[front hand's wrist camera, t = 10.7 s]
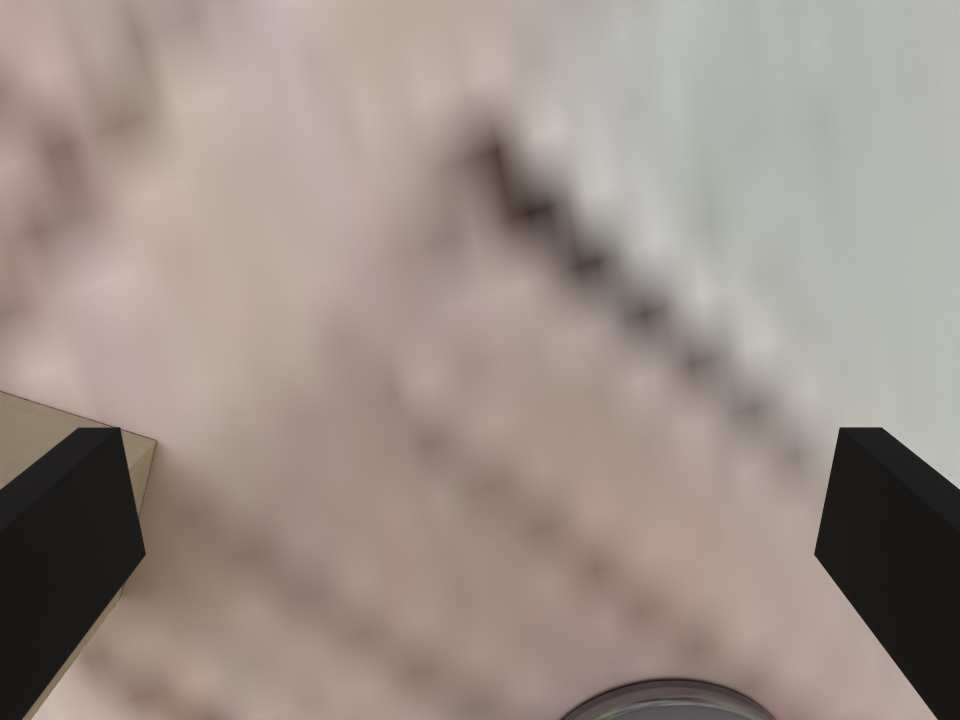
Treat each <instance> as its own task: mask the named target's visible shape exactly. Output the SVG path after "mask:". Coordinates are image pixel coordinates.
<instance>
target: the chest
mask: <svg viewBox="0 0 960 720" xmlns="http://www.w3.org/2000/svg"><path fill="white" fill-rule="evenodd" d="M78 427H110V426H107V425H104V424H101V423H98V422H94V421H91V420H88V419H85V418H82V417H79V416H75V415H72V414H69V413H66V412H63V411H60V410H56V409H53V408H50V407H47V406H44V405H41V404H37V403H34V402H31V401H28V400H25V399H21V398H18V397H15V396H12V395H9V394H6V393H2V392H0V489H2V488H3V487H4V486H5V485H7V484H8V483H9V482H10V481H12V480H13V479H14V478H15V477H17V476H18V475H19V474H20V473H22V472H23V471H24V470H25V469H27V468H28V467H29V466H31V465H32V464H33V463H34V462H36V461H37V460H38V459H39V458H41V457H42V456H43V455H44V454H46V453H47V452H48V451H49V450H51V449H52V448H53V447H54V446H56V445H57V444H58V443H59V442H61V441H62V440H63V439H64V438H66V437H67V436H68V435H69V434H71V433H72V432H73V431H74V430H76V429H77V428H78ZM121 434H122V439H123V444H124V449H125V454H126V459H127V464H128V469H129V473H130V478H131V483H132V488H133V493H134V498H135V503H136V508H137V513H138V518H139V514H140V509H141V505H142V501H143V496H144V492H145V488H146V483H147V479H148V475H149V471H150V466H151V462H152V458H153V453H154V449H155V445H156V441H155V440H151V439H148V438H145V437H142V436H139V435H136V434H132V433H129V432H126V431H123V430H121ZM122 587H123V586H122ZM122 587H121V588H120V590H119V591H118V592H117V594H116V595H115V596H114V598H113V599H112V600H111V602H110V603H109V604H108V606H107V607H106V608H105V610H104V611H103V612H102V614H101V615H100V616H99V618H98V619H97V620H96V622H95V623H94V624H93V626H92V627H91V628H90V630H89V631H88V632H87V634H86V635H85V636H84V638H83V639H82V640H81V642H80V643H79V644H78V646H77V647H76V648H75V650H74V651H73V652H72V654H71V655H70V656H69V658H68V659H67V660H66V662H65V663H64V664H63V666H62V667H61V668H60V670H59V671H58V672H57V674H56V675H55V676H54V678H53V679H52V680H51V682H50V683H49V684H48V686H47V687H46V689H45V690H44V691H43V693H42V694H41V695H40V697H39V698H38V699H37V701H36V702H35V703H34V705H33V706H32V707H31V709H30V710H29V711H28V713H27V714H26V715H25V717H24V718H23V719H22V720H31V719H32V718H33V716H34V715H35V713H36V712H37V711H38V709H39V708H40V707H41V705H42V704H43V703H44V701H45V700H46V699H47V697H48V696H49V694H50V693H51V692H52V690H53V689H54V688H55V686H56V685H57V684H58V682H59V681H60V680H61V678H62V677H63V675H64V674H65V673H66V671H67V670H68V669H69V667H70V666H71V665H72V663H73V662H74V660H75V659H76V658H77V656H78V655H79V654H80V652H81V651H82V650H83V648H84V647H85V646H86V644H87V643H88V641H89V640H90V639H91V637H92V636H93V635H94V633H95V632H96V631H97V629H98V628H99V626H100V625H101V624H102V622H103V621H104V620H105V618H106V617H107V616H108V614H109V613H110V612H111V610H112V609H113V608H114V606H115V605H116V603H117V602H118V601H119V599H120V596H121V591H122Z"/></svg>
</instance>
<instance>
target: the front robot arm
mask: <svg viewBox="0 0 960 720" xmlns="http://www.w3.org/2000/svg"><path fill="white" fill-rule="evenodd" d="M145 555H146V553H145V548H144V543H143V538H142V533H141V528H140V523H139V518H138V513H137V508H136V503H135V498H134V493H133V488H132V483H131V478H130V473H129V469H128V464H127V459H126V454H125V449H124V444H123V439H122V434H121V429H120V427H78V428H77V429H76V430H74V431H73V432H72V433H71V434H69V435H68V436H67V437H66V438H64V439H63V440H62V441H61V442H59V443H58V444H57V445H56V446H54V447H53V448H52V449H51V450H49V451H48V452H47V453H46V454H44V455H43V456H42V457H41V458H39V459H38V460H37V461H36V462H34V463H33V464H32V465H31V466H29V467H28V468H27V469H25V470H24V471H23V472H22V473H20V474H19V475H18V476H17V477H15V478H14V479H13V480H12V481H10V482H9V483H8V484H7V485H5V486H4V487H3V488H2V489H0V720H22V719H23V718H24V717H25V715H26V714H27V713H28V711H29V710H30V709H31V707H32V706H33V705H34V703H35V702H36V701H37V699H38V698H39V697H40V695H41V694H42V693H43V691H44V690H45V689H46V687H47V686H48V684H49V683H50V682H51V680H52V679H53V678H54V676H55V675H56V674H57V672H58V671H59V670H60V668H61V667H62V666H63V664H64V663H65V662H66V660H67V659H68V658H69V656H70V655H71V654H72V652H73V651H74V650H75V648H76V647H77V646H78V644H79V643H80V642H81V640H82V639H83V638H84V636H85V635H86V634H87V632H88V631H89V630H90V628H91V627H92V626H93V624H94V623H95V622H96V620H97V619H98V618H99V616H100V615H101V614H102V612H103V611H104V610H105V608H106V607H107V606H108V604H109V603H110V602H111V600H112V599H113V598H114V596H115V595H116V594H117V592H118V591H119V590H120V588H121V587H122V586H123V584H124V583H125V582H126V580H127V579H128V578H129V576H130V575H131V574H132V572H133V571H134V570H135V568H136V567H137V566H138V564H139V563H140V562H141V560H142V559H143V558H144V556H145ZM814 555H815V556H816V558H817V559H818V560H819V562H820V563H821V564H822V566H823V567H824V568H825V570H826V571H827V572H828V574H829V575H830V576H831V578H832V579H833V580H834V582H835V583H836V584H837V586H838V587H839V588H840V590H841V591H842V592H843V594H844V595H845V596H846V598H847V599H848V600H849V602H850V603H851V604H852V606H853V607H854V608H855V610H856V611H857V612H858V614H859V615H860V616H861V618H862V619H863V620H864V622H865V623H866V624H867V626H868V627H869V628H870V630H871V631H872V632H873V634H874V635H875V636H876V638H877V639H878V640H879V642H880V643H881V644H882V646H883V647H884V648H885V650H886V651H887V652H888V654H889V655H890V656H891V658H892V659H893V660H894V662H895V663H896V664H897V666H898V667H899V668H900V670H901V671H902V672H903V674H904V675H905V676H906V678H907V679H908V680H909V682H910V683H911V684H912V686H913V687H914V689H915V690H916V691H917V693H918V694H919V695H920V697H921V698H922V699H923V701H924V702H925V703H926V705H927V706H928V707H929V709H930V710H931V711H932V713H933V714H934V715H935V717H936V718H937V719H938V720H960V489H958V488H957V487H956V486H955V485H953V484H952V483H951V482H950V481H948V480H947V479H946V478H945V477H943V476H942V475H941V474H940V473H938V472H937V471H936V470H935V469H933V468H932V467H931V466H929V465H928V464H927V463H926V462H924V461H923V460H922V459H921V458H919V457H918V456H917V455H916V454H914V453H913V452H912V451H911V450H909V449H908V448H907V447H906V446H904V445H903V444H902V443H901V442H899V441H898V440H897V439H896V438H894V437H893V436H892V435H891V434H889V433H888V432H887V431H886V430H884V429H883V428H882V427H840V429H839V434H838V439H837V444H836V449H835V454H834V459H833V464H832V469H831V473H830V478H829V483H828V488H827V493H826V498H825V503H824V508H823V513H822V518H821V523H820V528H819V533H818V538H817V543H816V548H815V553H814Z"/></svg>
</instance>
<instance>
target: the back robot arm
mask: <svg viewBox="0 0 960 720" xmlns="http://www.w3.org/2000/svg"><path fill="white" fill-rule="evenodd" d="M563 720H775V719H774V718H773V717H772V716H771V715H770V714H769V713H768V712H767V711H766V710H765V709H763V708H762V707H761V706H759V705H758V704H756V703H755V702H753V701H752V700H750V699H748V698H746V697H745V696H743V695H741V694H738V693H736V692H734V691H731V690H728V689H725V688H722V687H719V686H715V685H710V684H706V683H699V682H692V681H657V682H648V683H642V684H636V685H632V686H628V687H624V688H621V689H618V690H615V691H612V692H609V693H607V694H604V695H602V696H599V697H597V698H595V699H593V700H591V701H589V702H587V703H586V704H584V705H583V706H581V707H579V708H578V709H576V710H575V711H573V712H572V713H571V714H569V715H568V716H567V717H566V718H564V719H563Z"/></svg>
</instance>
